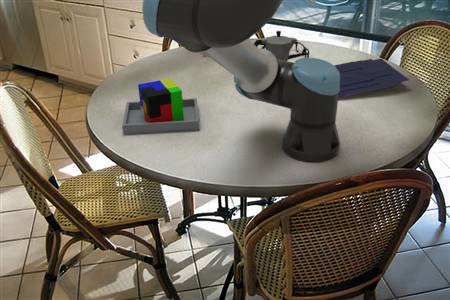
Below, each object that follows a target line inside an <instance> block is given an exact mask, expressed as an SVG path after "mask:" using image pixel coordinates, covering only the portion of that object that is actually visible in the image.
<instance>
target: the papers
mask: <svg viewBox="0 0 450 300" xmlns="http://www.w3.org/2000/svg"><path fill="white" fill-rule="evenodd" d="M333 65H334V64H333ZM334 66H335V67H336V68H337V69H338V71H339V73H340V91H339V96H338V99H340V98H344V97H348V96H351V95H352V96H353V95H356V94H362V93H366V92H371V91H376V90H380V89H387V88H391V87H393V86H397V85H402V83H403V82H407V81H410V79H409V78H408V77H407V76H405V75H403V74H402V72H400V71H399V70H397V69H395V67H393V66H392V65H390V64H389V63H388V62H386V61H385V59H383V58H376V59H372V58H369V59H364V60H363V59H362V60H356V61H349V62H344V63H343V62H342V63H339V64H335V65H334Z"/></svg>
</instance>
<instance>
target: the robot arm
mask: <svg viewBox="0 0 450 300" xmlns="http://www.w3.org/2000/svg"><path fill="white" fill-rule="evenodd" d="M283 1H284V0H142V8H141V9H142V11H141V12H142V20H143V23H144V25H145V28H146V29H147V31H148V32H149V33H150V34H152V35H155V36H157V37H158V38H166V39H170V40H172V41H174V42H176V43H177V44H178V45H180V46H181V47H182V48H184V49H185V50H187V51H189V52H192V53H195V54H197V53H198V54H200V53H202V54H203V53H205V54H206V55H207V56H206V57H209V58H210V59H211V60H212V61H214V62H215V63H217V64H218V65H219V66H220V67H222V68H223V69H224V70H226V71H228V73H230V74H231V75H233V82H234V83H235V84H234V88H235V90H236V91H237V93H239V95H241V96H243V97H244V98H247V99H248V100H252V101H258V102H262V103H267V104H270V105H275V106H278V107H283V108H285V109H289V110H290V114H289V115H290V116H289V117H290V118H289V122H288V124H287V127H286V129H285V131H284V133H283V136H282V139H281V140H282V141H281V147H282V150H283V152H284V153H285V154H286V155H288V156H289V157H290V158H293V159H294V160H299V161H302V162H310V163H320V162H325V161H328V160H332V159H333V158H335V157H336V156H337V155H338V154H339V152H340V146H341V140H340V136H339V131H338V128H337V125H336V121H337V113H338V112H337V111H338V103H339V98H338V96H339V91H340V73H339V71H338V69H337V68H336V67H335V66H334V64H332V63H331V62H329V61H327V60H324V59H320V58H317V57H309V58H307V57H306V58H305V57H302V58H298V59H296V60H295V61H294V62H293V61H289V60H287V61H284V60H280V59H277V58H276V57H275V56H274V55H273V54H272V53H271V52H270V51H268V50H266V48H265V49H261V48H257V47H258V46H257V47H256V46H255V45H254V42H252V41H251V40H250V38H251V37H253V36H254V35H255V34H257V33H258V32H259V31H261V29H262V28H264V27H265V25H266V24H267V23H269V21H270V20H271V19H272V18H273V16H275V14H276V12H277V10H278V9H279V8H280V6H281V4H282V2H283ZM310 2H311V3H312V4H316V3H317V0H310Z"/></svg>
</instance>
